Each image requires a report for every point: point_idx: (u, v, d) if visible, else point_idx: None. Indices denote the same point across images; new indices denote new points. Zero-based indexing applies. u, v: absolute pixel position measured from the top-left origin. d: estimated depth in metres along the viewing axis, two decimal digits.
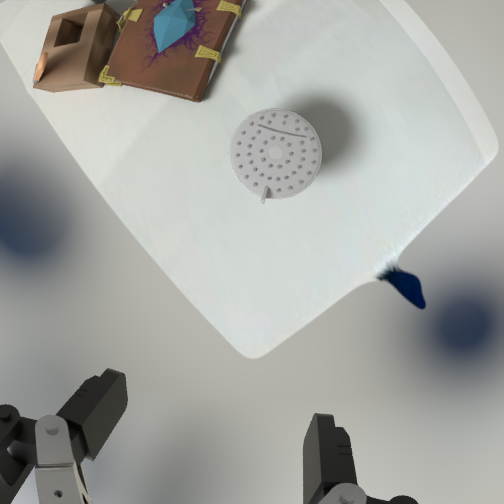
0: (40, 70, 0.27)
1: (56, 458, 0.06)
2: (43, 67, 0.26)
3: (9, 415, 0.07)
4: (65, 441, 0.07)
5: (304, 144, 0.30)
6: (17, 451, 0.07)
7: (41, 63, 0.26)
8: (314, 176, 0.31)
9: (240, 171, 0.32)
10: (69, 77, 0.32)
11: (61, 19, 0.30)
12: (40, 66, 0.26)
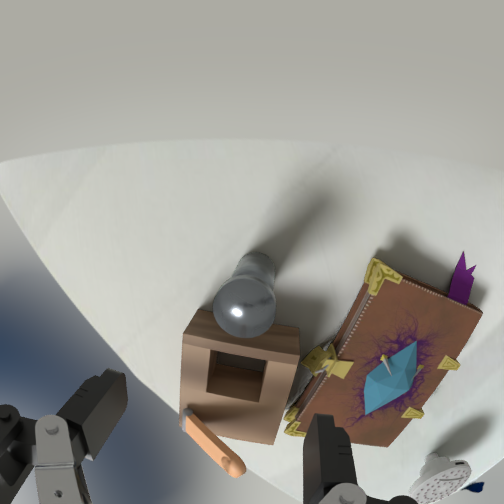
0: None
1: (56, 458, 0.06)
2: None
3: (9, 415, 0.07)
4: (65, 441, 0.07)
5: (461, 480, 0.27)
6: (17, 451, 0.07)
7: None
8: None
9: (415, 499, 0.28)
10: (249, 437, 0.29)
11: (207, 347, 0.26)
12: None
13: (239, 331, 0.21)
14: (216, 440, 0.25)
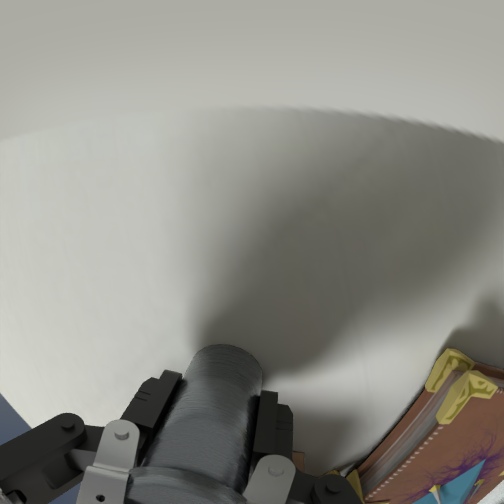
0: None
1: (115, 463, 0.07)
2: None
3: (73, 424, 0.08)
4: (139, 445, 0.08)
5: None
6: (72, 460, 0.08)
7: None
8: None
9: None
10: None
11: None
12: None
13: None
14: None
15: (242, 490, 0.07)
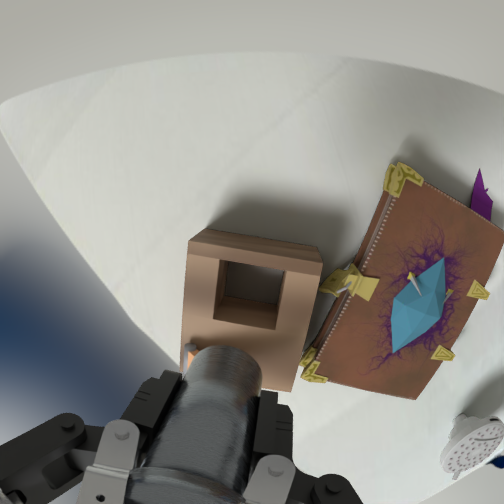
0: None
1: (115, 463, 0.07)
2: None
3: (73, 424, 0.08)
4: (140, 445, 0.08)
5: (495, 441, 0.24)
6: (72, 460, 0.08)
7: None
8: None
9: (448, 466, 0.26)
10: (262, 381, 0.26)
11: (216, 257, 0.24)
12: None
13: None
14: None
15: (242, 490, 0.07)
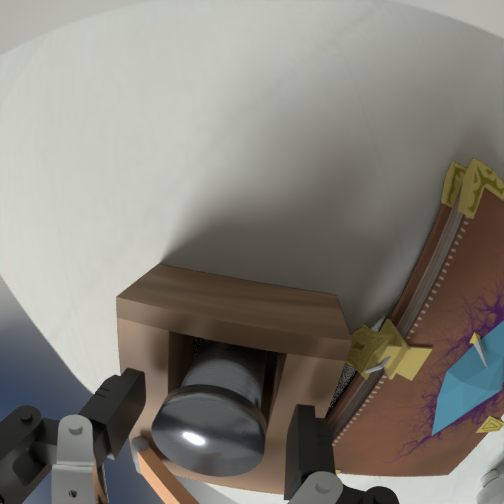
0: None
1: (76, 458, 0.07)
2: None
3: (31, 416, 0.07)
4: (90, 441, 0.08)
5: None
6: (36, 452, 0.07)
7: None
8: None
9: None
10: (248, 484, 0.15)
11: (163, 325, 0.13)
12: None
13: (201, 468, 0.10)
14: (188, 500, 0.11)
15: None
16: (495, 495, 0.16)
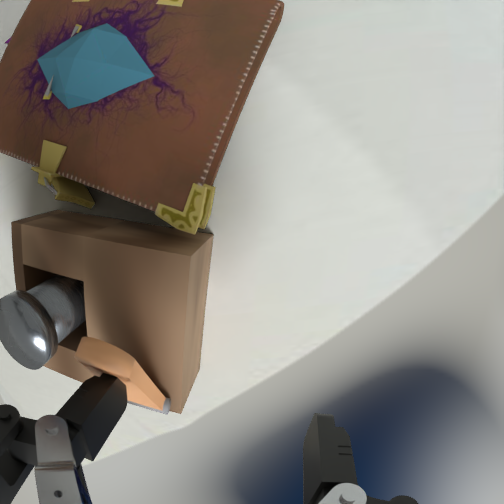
0: (133, 371, 0.11)
1: (56, 458, 0.06)
2: (124, 356, 0.10)
3: (9, 415, 0.07)
4: (65, 441, 0.07)
5: None
6: (17, 451, 0.07)
7: (107, 359, 0.10)
8: None
9: None
10: (173, 305, 0.15)
11: None
12: (117, 365, 0.10)
13: (38, 346, 0.13)
14: None
15: None
16: None
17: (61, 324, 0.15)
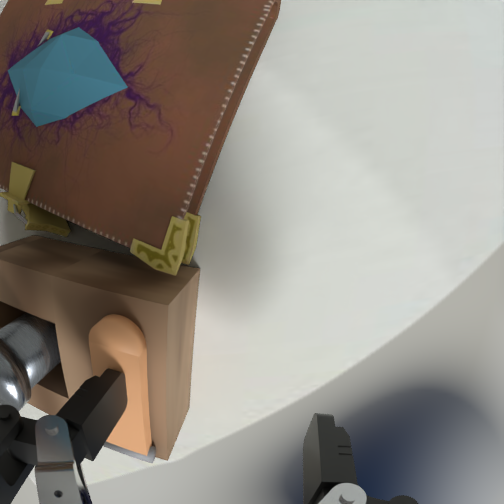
0: (142, 356, 0.12)
1: (56, 458, 0.06)
2: (140, 334, 0.12)
3: (9, 415, 0.07)
4: (65, 441, 0.07)
5: None
6: (17, 451, 0.07)
7: (126, 327, 0.11)
8: None
9: None
10: (151, 356, 0.13)
11: None
12: (133, 336, 0.11)
13: (9, 394, 0.10)
14: None
15: None
16: None
17: (34, 369, 0.12)
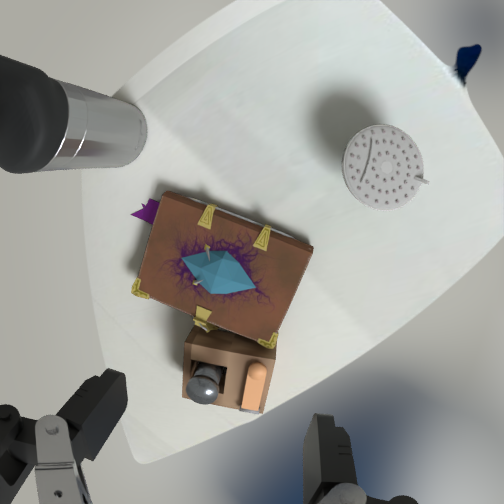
0: None
1: (56, 458, 0.06)
2: (265, 367, 0.39)
3: (9, 415, 0.07)
4: (65, 441, 0.07)
5: (378, 139, 0.30)
6: (17, 451, 0.07)
7: (263, 366, 0.39)
8: (404, 133, 0.30)
9: (401, 200, 0.31)
10: (266, 374, 0.40)
11: None
12: (265, 368, 0.39)
13: (213, 395, 0.37)
14: None
15: (199, 374, 0.39)
16: None
17: (217, 384, 0.39)
